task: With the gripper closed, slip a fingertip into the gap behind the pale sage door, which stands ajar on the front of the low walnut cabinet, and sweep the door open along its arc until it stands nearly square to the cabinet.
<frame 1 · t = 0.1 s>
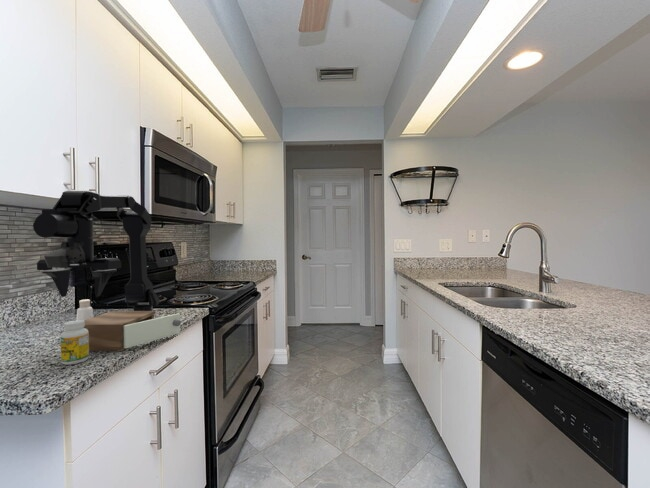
hand: (80, 296, 83), 15 cm above the countertop, fingers open, 9 cm apart
supplement bottle: (75, 361, 76), on the countertop
salt shaker: (85, 335, 97), on the countertop
cabinet: (116, 340, 91), on the countertop
side door: (155, 329, 89), point 4 cm above the countertop, hinge at 30.0°
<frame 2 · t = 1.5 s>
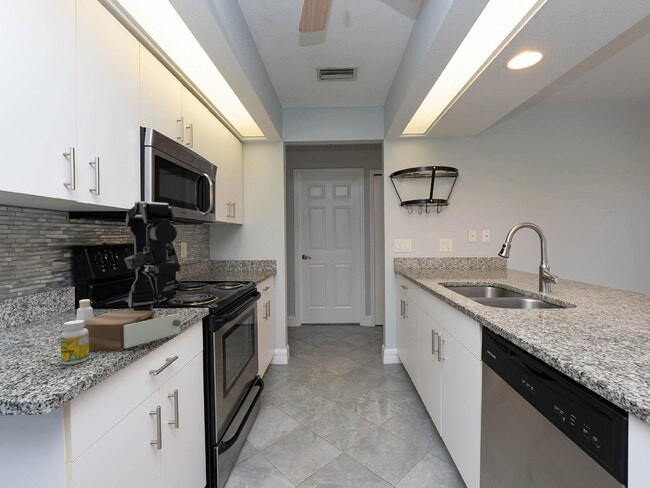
hand: (157, 294, 95), 13 cm above the countertop, fingers closed
nothing on the countertop moved.
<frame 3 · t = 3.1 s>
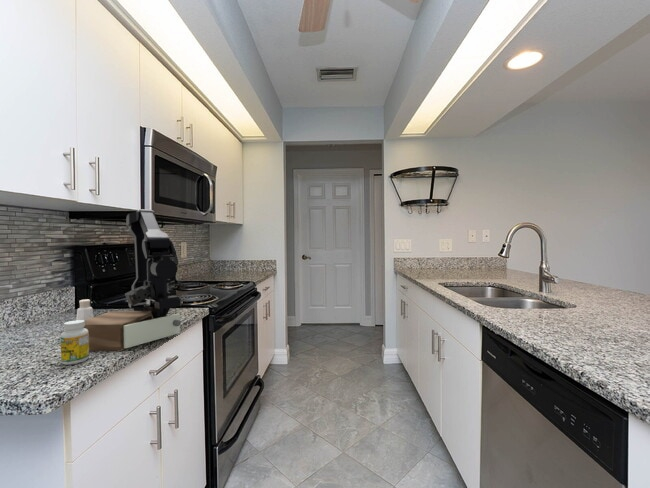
hand: (158, 327, 95), 3 cm above the countertop, fingers closed
nothing on the countertop moved.
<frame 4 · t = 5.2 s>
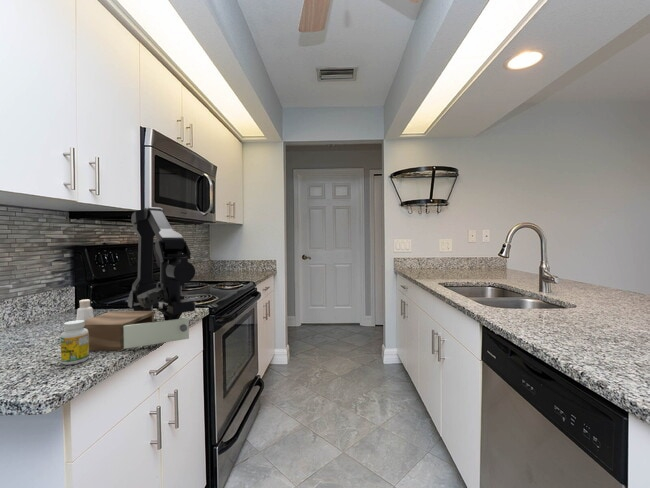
hand: (170, 331, 91), 3 cm above the countertop, fingers closed
side door: (157, 332, 86), point 4 cm above the countertop, hinge at 58.3°, touching gripper
everything else where it was.
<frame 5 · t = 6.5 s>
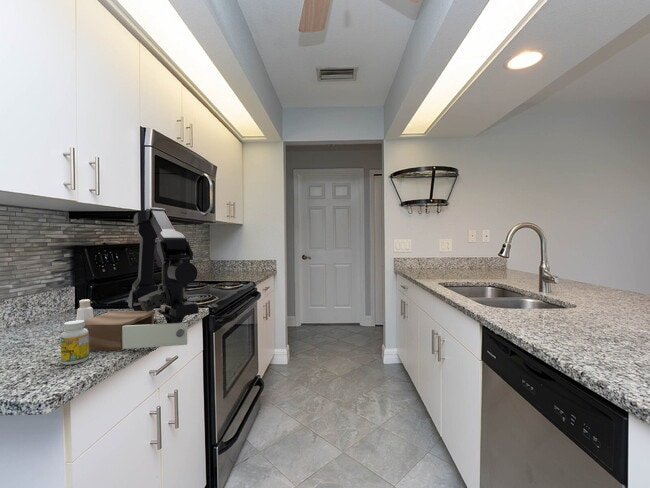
hand: (173, 335, 88), 3 cm above the countertop, fingers closed
side door: (154, 336, 84), point 4 cm above the countertop, hinge at 79.0°, touching gripper
everything else where it was.
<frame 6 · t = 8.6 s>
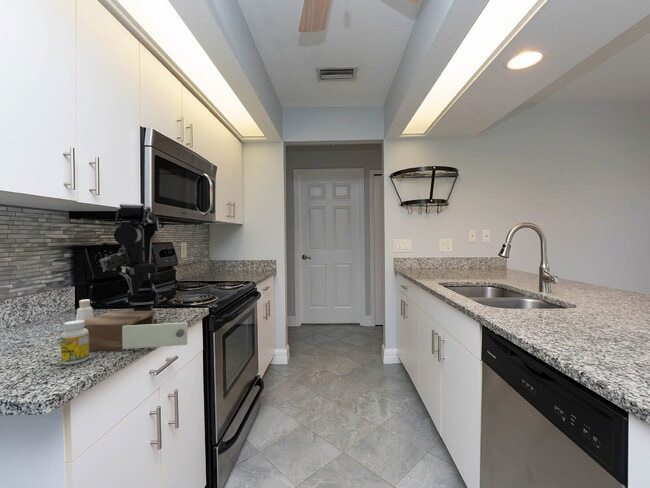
hand: (134, 294, 96), 13 cm above the countertop, fingers closed
side door: (154, 336, 84), point 4 cm above the countertop, hinge at 79.1°
everything else where it was.
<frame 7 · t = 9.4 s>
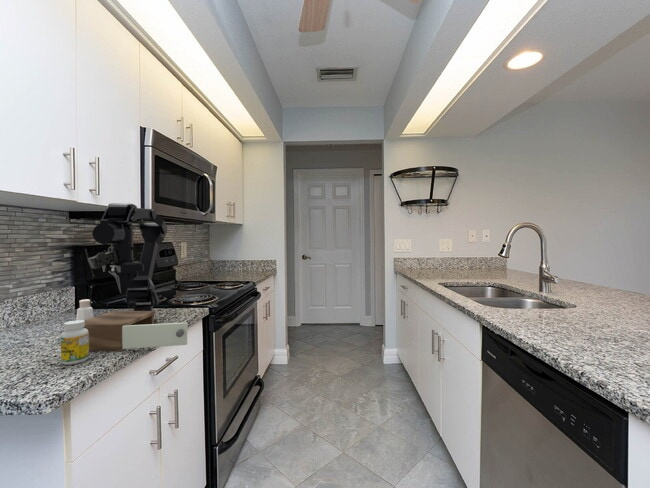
hand: (122, 293, 97), 13 cm above the countertop, fingers closed
nothing on the countertop moved.
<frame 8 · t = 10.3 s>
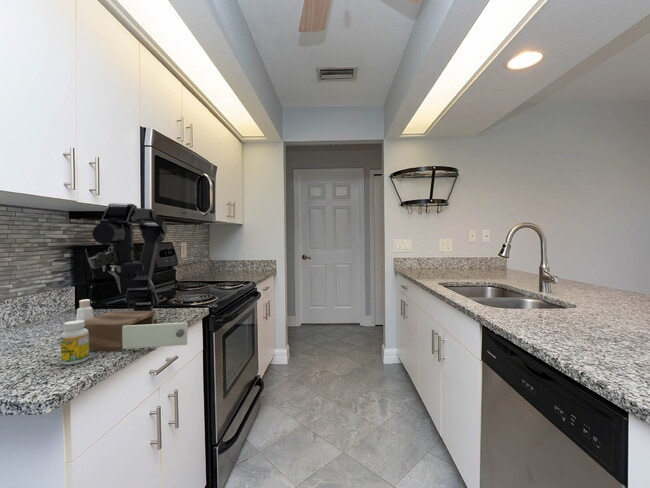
hand: (122, 293, 97), 13 cm above the countertop, fingers closed
nothing on the countertop moved.
at the end: side door at +79° (first picture: +30°) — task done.
